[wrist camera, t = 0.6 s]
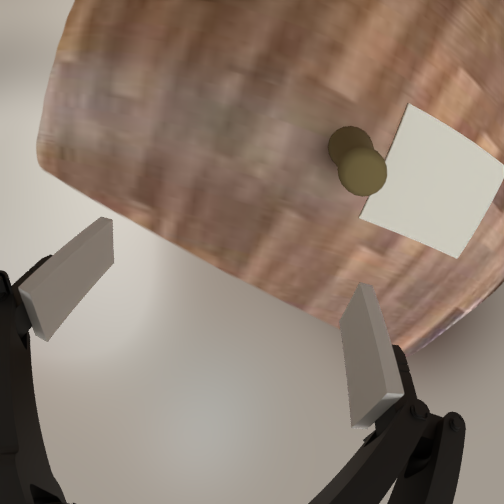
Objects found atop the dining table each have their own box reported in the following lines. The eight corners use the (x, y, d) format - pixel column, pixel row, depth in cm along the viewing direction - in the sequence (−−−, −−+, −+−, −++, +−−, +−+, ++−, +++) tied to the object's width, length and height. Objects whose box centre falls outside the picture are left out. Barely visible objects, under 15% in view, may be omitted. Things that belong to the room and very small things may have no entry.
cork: (345, 117, 32) (360, 134, 23) (381, 145, 33) (406, 173, 24) (319, 152, 35) (322, 182, 27) (354, 178, 36) (368, 216, 28)
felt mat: (358, 216, 40) (359, 218, 39) (407, 103, 29) (408, 103, 29) (456, 257, 40) (457, 258, 39) (506, 167, 29) (508, 168, 29)
